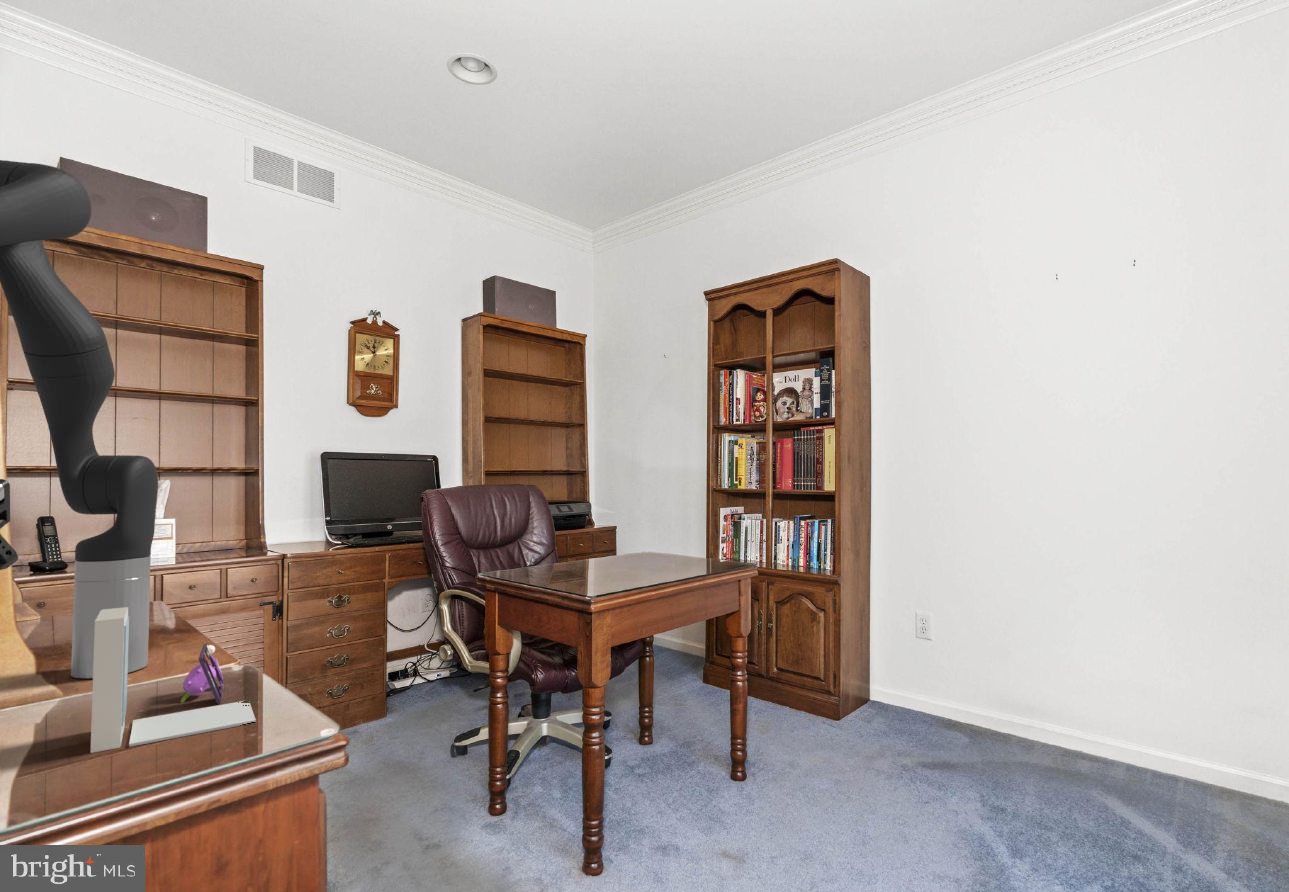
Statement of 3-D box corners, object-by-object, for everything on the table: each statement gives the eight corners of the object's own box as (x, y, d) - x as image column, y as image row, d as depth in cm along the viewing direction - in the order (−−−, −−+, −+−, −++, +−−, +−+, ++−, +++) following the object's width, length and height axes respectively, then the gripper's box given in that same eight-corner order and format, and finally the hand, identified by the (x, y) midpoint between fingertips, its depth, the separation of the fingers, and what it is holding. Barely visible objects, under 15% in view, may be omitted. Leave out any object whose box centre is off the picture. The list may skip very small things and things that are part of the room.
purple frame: (208, 654, 85) (212, 640, 93) (161, 674, 83) (169, 657, 91) (227, 701, 86) (230, 683, 94) (181, 722, 84) (188, 701, 91)
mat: (133, 722, 79) (133, 720, 79) (248, 702, 86) (248, 700, 86) (128, 746, 72) (129, 744, 72) (255, 722, 79) (255, 720, 79)
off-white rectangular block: (97, 730, 77) (101, 609, 78) (126, 725, 79) (129, 606, 79) (90, 753, 71) (94, 620, 71) (122, 747, 72) (125, 617, 73)
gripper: (-26, 401, 68) (83, 532, 76) (-135, 432, 70) (-17, 558, 78) (-94, 433, 62) (32, 573, 70) (-214, 467, 63) (-76, 601, 71)
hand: (6, 565), depth 74 cm, fingers closed
